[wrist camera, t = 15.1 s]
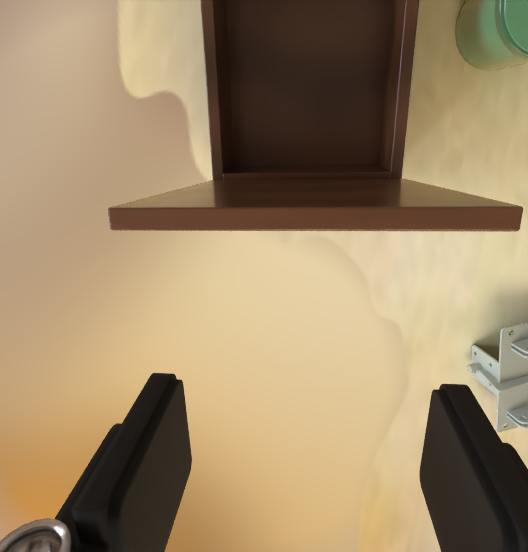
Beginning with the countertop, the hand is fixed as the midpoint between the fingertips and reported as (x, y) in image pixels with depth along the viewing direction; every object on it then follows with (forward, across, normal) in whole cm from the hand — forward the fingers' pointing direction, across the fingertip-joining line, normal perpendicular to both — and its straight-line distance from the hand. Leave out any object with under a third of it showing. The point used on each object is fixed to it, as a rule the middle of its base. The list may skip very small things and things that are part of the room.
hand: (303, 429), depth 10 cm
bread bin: (+28, 0, -11) cm, 30 cm away
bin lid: (+13, 0, -4) cm, 14 cm away
